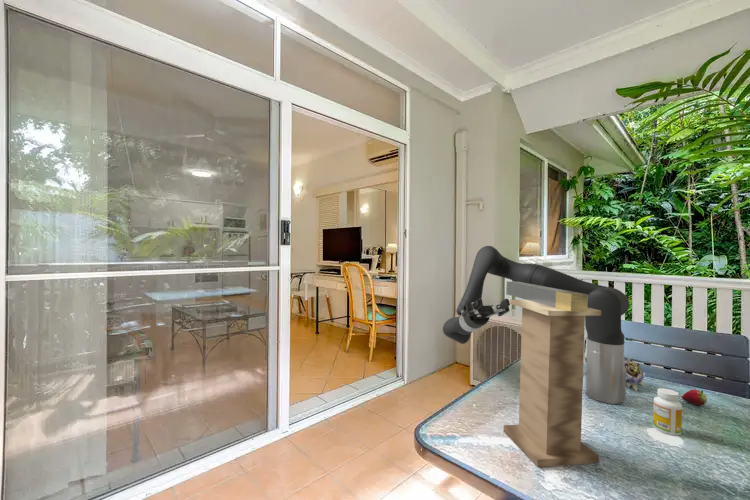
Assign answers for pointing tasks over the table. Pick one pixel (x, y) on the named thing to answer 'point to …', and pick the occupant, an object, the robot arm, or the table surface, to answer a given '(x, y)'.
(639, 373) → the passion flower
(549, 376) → the walnut stand
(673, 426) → the supplement bottle
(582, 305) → the steel block
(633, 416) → the table surface
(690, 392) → the fruit
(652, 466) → the table surface
